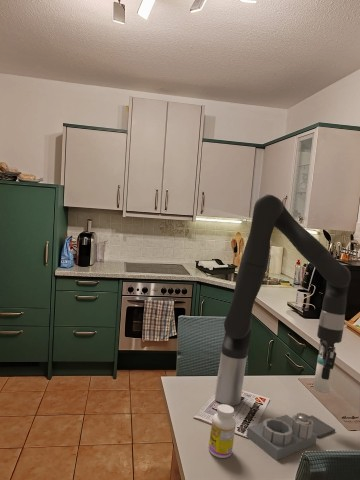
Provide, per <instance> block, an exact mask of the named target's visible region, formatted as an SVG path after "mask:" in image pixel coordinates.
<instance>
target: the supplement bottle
mask: <svg viewBox="0 0 360 480" xmlns="http://www.w3.org/2000/svg"><path fill="white" fill-rule="evenodd" d="M234 412H235V409H234V406H230V405H226V404H222V403H220V404H218V405H217V409H216V413H215V414H214V415H213V416H212V419H211V427H210V432H209V433H210V434H209V439H208V440H209V441H208V451H209V452H210V454H211V455H212V456H214V457H216V458H220V459H225V458H229V457H230V456H231V455H232V452H233V446H234V440H235V433H236V432H235V431H236V424H237V420H236V418H235V417H234V416H235V415H234V414H235V413H234Z"/></svg>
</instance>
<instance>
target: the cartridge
mask: <svg viewBox="0 0 360 480" xmlns="http://www.w3.org/2000/svg"><path fill="white" fill-rule="evenodd" d="M318 354H319V353H318ZM325 358H326V357H325ZM327 364H330V362H328V363H327ZM322 369H323V360H322V355H321V354H319V355H317V360H316V368H315V373H314V374H315V375H314V381H313V387H312V388H313V389H314V391H316V392H319V393H322V394H329V393H330V392H331V391H330V389H331V384H332V378H333V377H332V376H333V371H334V368H333V369H330V375H329V379H328V380H326V379H322V377H321V376H322Z"/></svg>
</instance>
